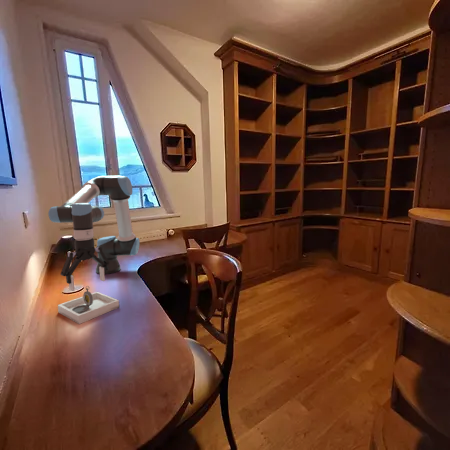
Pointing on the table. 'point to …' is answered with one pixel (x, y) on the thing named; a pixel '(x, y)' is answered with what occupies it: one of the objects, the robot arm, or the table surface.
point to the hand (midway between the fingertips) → (88, 285)
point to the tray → (98, 307)
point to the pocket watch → (86, 296)
